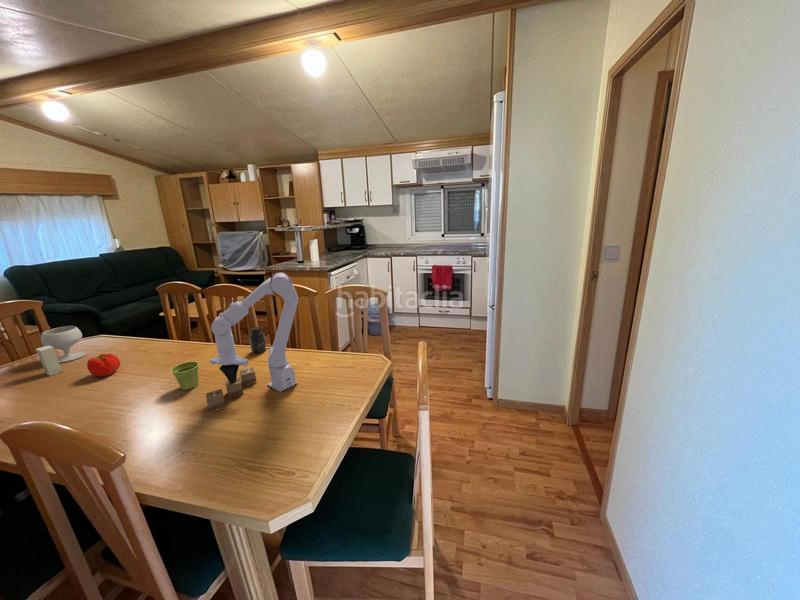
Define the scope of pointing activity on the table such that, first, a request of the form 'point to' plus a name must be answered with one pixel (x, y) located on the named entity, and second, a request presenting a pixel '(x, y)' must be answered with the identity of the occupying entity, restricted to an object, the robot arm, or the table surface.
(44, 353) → the skincare box
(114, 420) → the table surface
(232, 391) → the plain block
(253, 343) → the supplement bottle
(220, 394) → the block one
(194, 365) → the plant pot
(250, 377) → the block seven
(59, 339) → the chalice
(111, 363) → the tomato
